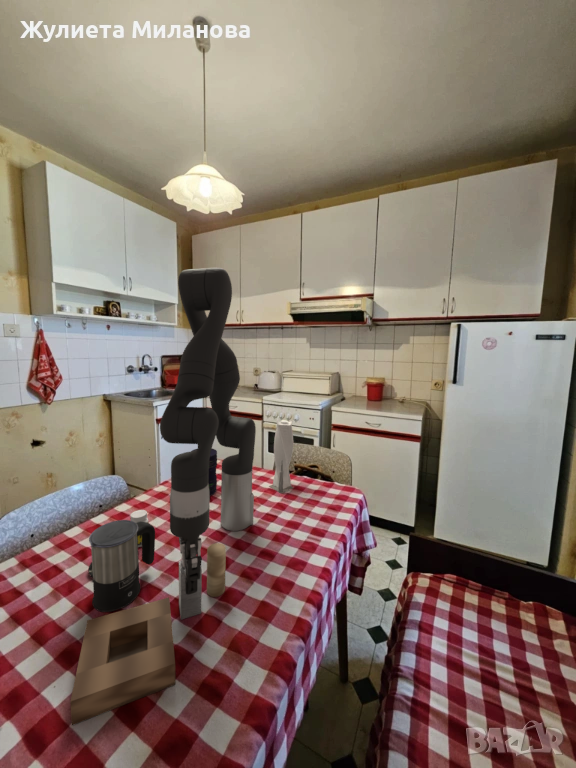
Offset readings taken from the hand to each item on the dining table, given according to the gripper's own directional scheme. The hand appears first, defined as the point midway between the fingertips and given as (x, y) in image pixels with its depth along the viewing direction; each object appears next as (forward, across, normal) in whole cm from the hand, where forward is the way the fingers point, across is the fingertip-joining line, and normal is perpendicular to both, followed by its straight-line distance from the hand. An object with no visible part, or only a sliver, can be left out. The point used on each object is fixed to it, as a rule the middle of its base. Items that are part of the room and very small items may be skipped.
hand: (190, 583), depth 64 cm
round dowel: (+6, +3, -6) cm, 9 cm away
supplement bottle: (+6, +27, +10) cm, 29 cm away
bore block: (+6, -7, +11) cm, 14 cm away
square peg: (+6, 0, 0) cm, 6 cm away
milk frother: (+6, +13, +15) cm, 21 cm away
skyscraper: (+6, +45, -40) cm, 60 cm away
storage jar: (+6, +51, -11) cm, 53 cm away
